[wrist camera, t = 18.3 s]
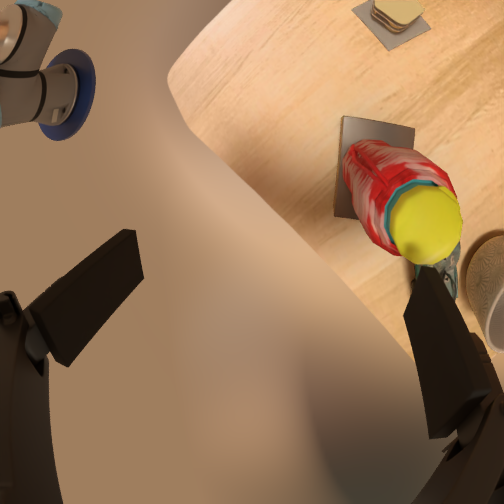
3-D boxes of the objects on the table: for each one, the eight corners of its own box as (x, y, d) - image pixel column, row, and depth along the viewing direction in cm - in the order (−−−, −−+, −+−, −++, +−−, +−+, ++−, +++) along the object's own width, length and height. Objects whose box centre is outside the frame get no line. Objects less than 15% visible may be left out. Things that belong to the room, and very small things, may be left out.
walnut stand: (333, 205, 44) (333, 216, 39) (341, 117, 38) (343, 115, 33) (392, 214, 42) (401, 226, 37) (404, 128, 36) (415, 128, 31)
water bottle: (423, 186, 34) (526, 272, 12) (384, 223, 37) (439, 347, 15) (364, 120, 32) (432, 112, 10) (324, 161, 36) (322, 219, 14)
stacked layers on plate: (394, -12, 26) (401, -26, 21) (431, 28, 27) (442, 18, 22) (351, 9, 30) (353, -4, 25) (388, 51, 32) (396, 41, 27)
